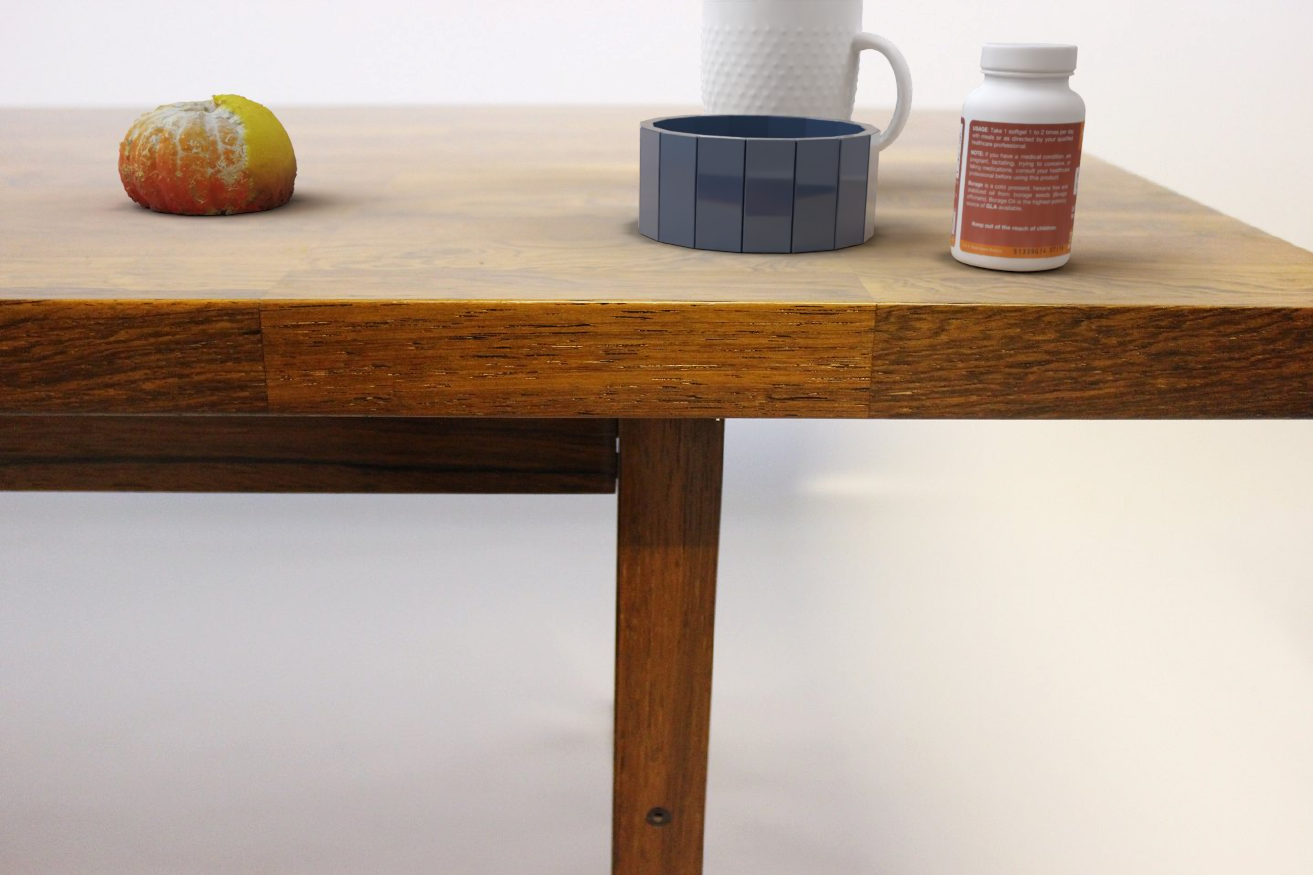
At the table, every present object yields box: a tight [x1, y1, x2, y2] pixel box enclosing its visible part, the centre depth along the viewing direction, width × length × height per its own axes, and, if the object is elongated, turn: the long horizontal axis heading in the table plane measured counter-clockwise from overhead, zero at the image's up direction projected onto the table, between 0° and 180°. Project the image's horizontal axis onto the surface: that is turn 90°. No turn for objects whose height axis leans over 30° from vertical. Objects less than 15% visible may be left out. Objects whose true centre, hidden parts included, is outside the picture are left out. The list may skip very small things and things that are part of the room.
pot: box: [637, 113, 882, 254], centre depth 78 cm, size 14×14×6 cm
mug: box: [700, 0, 913, 153], centre depth 94 cm, size 15×11×13 cm
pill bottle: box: [950, 42, 1087, 272], centre depth 70 cm, size 6×6×11 cm
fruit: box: [117, 93, 298, 216], centre depth 84 cm, size 11×10×8 cm
